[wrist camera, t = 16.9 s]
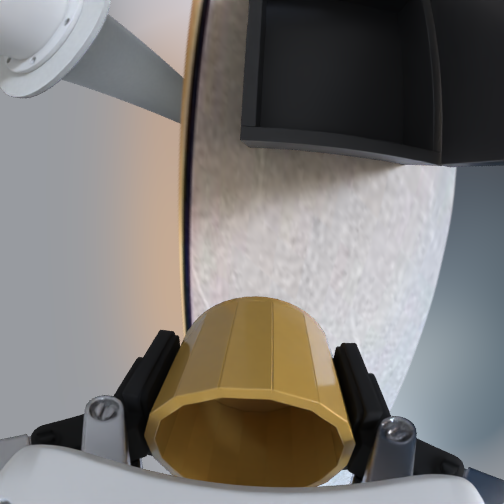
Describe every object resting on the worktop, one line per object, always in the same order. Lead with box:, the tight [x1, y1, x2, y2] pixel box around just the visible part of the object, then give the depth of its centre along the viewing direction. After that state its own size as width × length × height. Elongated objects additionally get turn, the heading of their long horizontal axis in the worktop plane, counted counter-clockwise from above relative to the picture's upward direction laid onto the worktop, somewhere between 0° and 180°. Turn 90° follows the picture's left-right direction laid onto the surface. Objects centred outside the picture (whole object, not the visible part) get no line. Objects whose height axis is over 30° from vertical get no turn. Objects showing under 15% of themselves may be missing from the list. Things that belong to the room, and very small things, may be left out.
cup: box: [144, 296, 356, 487], centre depth 9 cm, size 6×6×5 cm
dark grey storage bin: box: [240, 0, 442, 166], centre depth 18 cm, size 14×16×6 cm
